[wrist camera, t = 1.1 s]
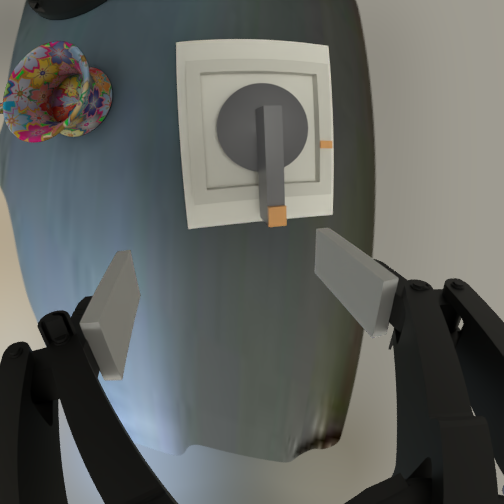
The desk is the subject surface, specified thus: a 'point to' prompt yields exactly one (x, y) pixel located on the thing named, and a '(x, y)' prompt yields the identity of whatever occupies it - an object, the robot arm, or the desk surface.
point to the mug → (55, 94)
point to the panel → (205, 118)
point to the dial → (264, 140)
